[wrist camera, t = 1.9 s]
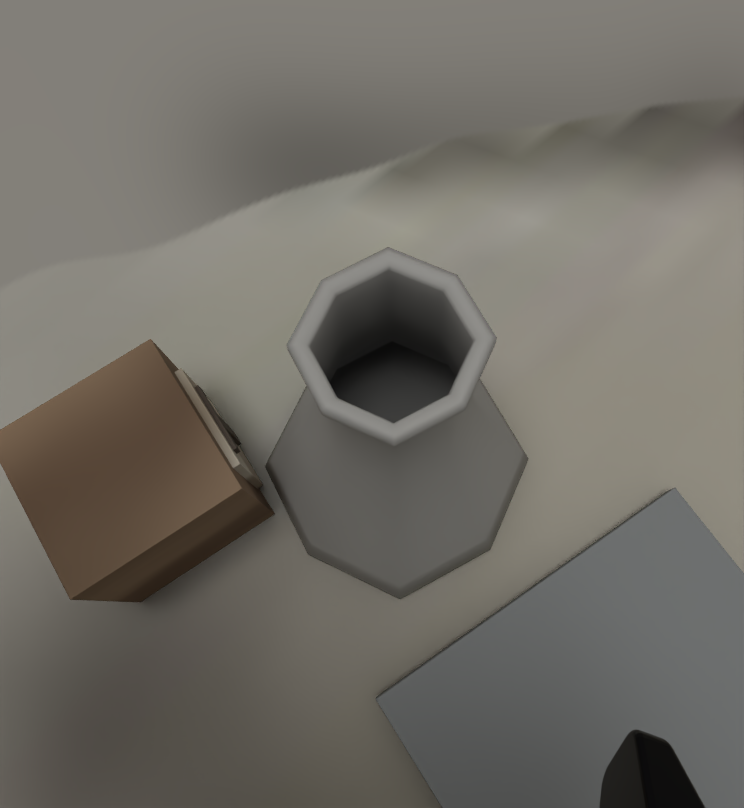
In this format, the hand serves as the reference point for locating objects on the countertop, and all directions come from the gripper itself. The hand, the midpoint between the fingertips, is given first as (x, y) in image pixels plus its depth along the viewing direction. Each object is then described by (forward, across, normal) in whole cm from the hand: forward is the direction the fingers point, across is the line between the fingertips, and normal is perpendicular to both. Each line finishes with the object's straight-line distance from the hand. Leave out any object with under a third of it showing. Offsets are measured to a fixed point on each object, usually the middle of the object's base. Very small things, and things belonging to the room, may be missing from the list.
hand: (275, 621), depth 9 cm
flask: (+11, 0, +5) cm, 12 cm away
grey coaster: (+7, -8, +8) cm, 14 cm away
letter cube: (+9, +6, +7) cm, 13 cm away
